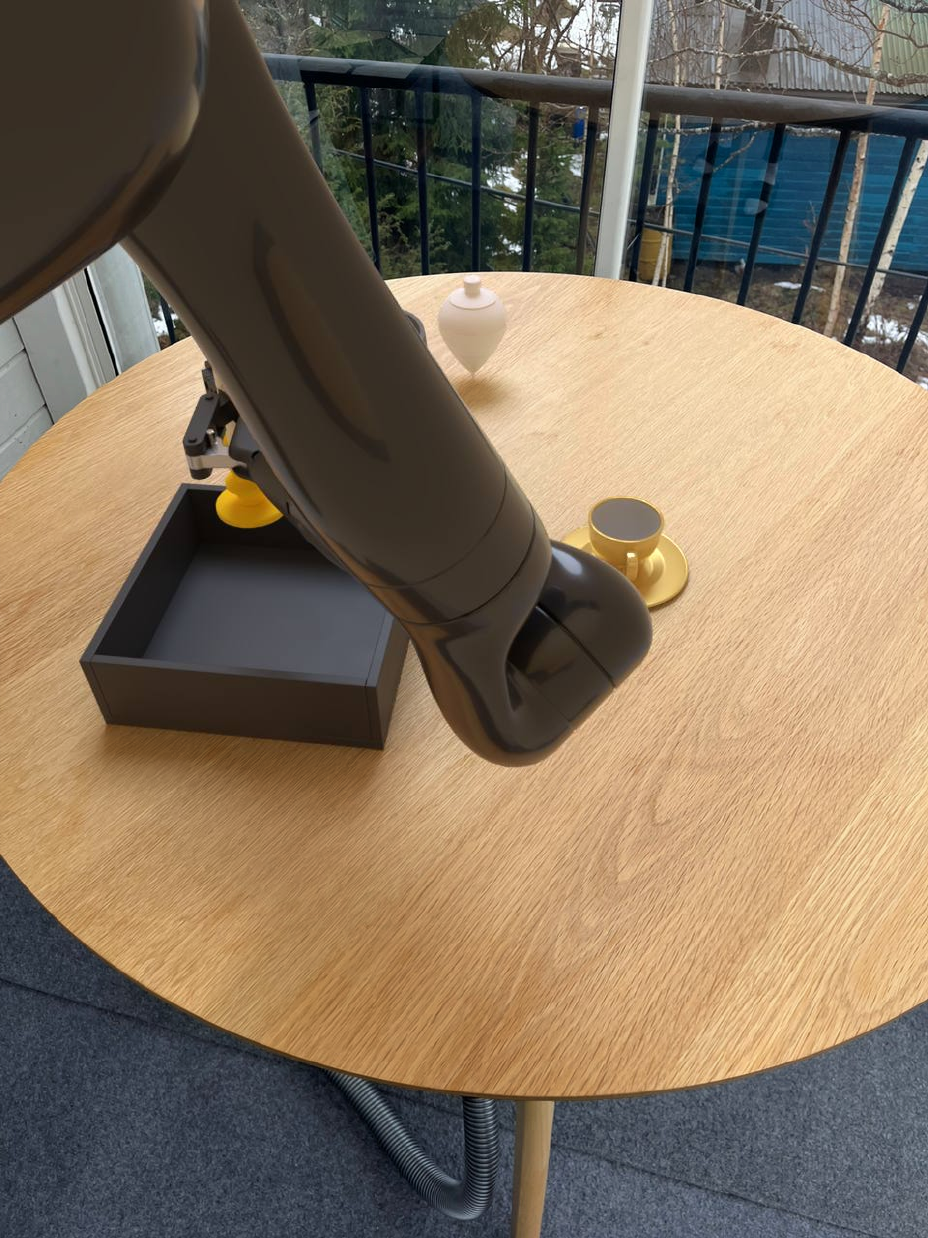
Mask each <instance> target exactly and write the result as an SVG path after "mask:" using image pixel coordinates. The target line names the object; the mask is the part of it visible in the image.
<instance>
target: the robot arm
mask: <svg viewBox="0 0 928 1238" xmlns="http://www.w3.org/2000/svg"><path fill="white" fill-rule="evenodd" d="M117 245H119V246H120V247H121V248H122V250H124V252H125V253H126V254H127V255H128V256H129V257H130V258H131V260H132V261H133V262H134V263H135V265H136V266H137V267H138V268H139V269H140V271H141V272H142V273H143V274H144V276H146V277H147V279H148V280H149V282H150V283H151V284H152V285H153V287H154V288H155V289H156V290H157V291H158V293H159V294H160V296H161V297H162V298H163V299H164V301H165V302H166V303H167V305H168V306H169V308H170V309H171V310H172V312H174V315H176V316H177V318H178V320H180V322H181V323H182V325H183V326H184V327H185V329H186V330H187V332H188V333H189V335H190V336H191V337H192V339H193V340H194V342H195V343H196V345H197V347H198V348H199V350H200V351H201V353H202V354H203V356H204V358H205V360H204V361H203V362H204V368H203V369H201V370H200V371H201V375H202V380H203V385H204V389H205V393H204V394H202V395H201V396H200V397H199V399H198V401H197V403H196V406H195V409H194V411H193V414H192V416H191V419H190V421H189V424H188V425H187V428H186V431H185V433H184V435H183V437H182V443H181V444H182V447H183V451H184V455H185V459H186V462H187V463H186V464H187V466H188V469H189V473H190V477H191V478H192V479H193V480H196V481H204V480H206V479H208V478H209V477H211V475H212V473H213V470H214V469H229V468H232V470H233V472H234V474H235V475H237V476H238V477H240V478H242V479H245V480H249V481H251V482H254V483H255V484H256V485H257V486H258V487H259V489H260V490H261V492H262V493H263V494H264V495H265V497H266V498H267V499H268V500H269V501H270V502H271V503H272V504H273V505H274V506H275V507H276V508H277V509H278V510H279V511H280V512H281V513H282V514H283V515H284V516H285V517H286V518H287V519H288V520H289V521H290V522H291V523H292V524H293V525H294V526H295V527H296V528H297V529H298V530H299V531H300V533H301V534H302V536H303V537H304V538H305V539H306V540H307V541H308V542H310V543H312V544H313V545H314V546H315V547H316V548H317V549H318V550H319V551H320V552H321V553H322V554H323V555H324V556H325V557H326V558H327V559H329V560H330V561H331V562H333V563H334V564H335V565H337V566H338V567H339V568H341V569H342V570H344V571H346V572H347V573H348V574H349V575H351V576H352V577H353V578H354V579H355V580H356V581H357V582H358V583H359V584H360V585H361V586H362V587H363V588H364V589H365V590H366V591H367V592H368V593H369V594H370V595H371V596H372V597H373V598H374V599H375V600H376V601H377V602H378V603H379V604H380V605H381V606H382V607H383V608H384V609H385V610H386V611H387V612H388V613H389V614H390V615H391V616H393V617H394V618H395V619H396V620H397V621H398V623H399V624H400V625H401V626H402V627H403V629H404V630H405V632H406V633H407V635H408V637H409V638H410V640H409V641H410V643H411V644H412V646H413V648H414V651H415V654H416V656H417V659H418V660H419V663H420V665H421V669H422V671H423V674H424V677H425V679H426V682H427V685H428V688H429V690H430V693H431V696H432V697H433V699H434V702H435V704H436V705H437V707H438V709H439V711H440V713H441V715H442V717H443V719H444V720H445V722H446V723H447V725H448V727H449V728H450V729H451V730H452V732H453V733H454V735H455V736H456V737H457V738H458V739H459V740H460V741H461V742H462V743H463V745H465V746H466V748H468V750H470V751H471V752H472V753H474V754H475V755H476V756H478V757H479V758H481V759H483V760H484V761H486V762H489V763H491V764H493V765H495V766H500V767H505V768H524V767H525V768H526V767H530V766H534V765H537V764H539V763H541V762H543V761H545V760H546V759H548V758H549V757H550V756H552V755H553V754H554V753H555V752H557V751H558V750H559V749H560V748H561V747H562V746H563V745H564V744H565V743H566V742H567V741H568V740H569V739H570V737H571V736H572V735H574V733H575V731H577V730H579V728H580V727H581V726H582V725H583V724H584V723H585V722H586V721H587V720H588V719H589V718H590V717H591V716H592V715H593V714H594V713H595V712H596V711H597V710H598V709H599V708H600V707H601V706H602V705H603V704H604V703H605V702H606V700H607V699H608V698H609V697H611V695H613V693H614V692H615V690H617V689H618V688H619V687H620V686H621V685H622V684H623V683H624V682H626V680H627V679H628V678H629V677H630V676H631V675H632V674H633V673H634V672H635V671H636V670H637V669H638V668H639V667H640V665H642V663H643V662H644V661H645V659H646V657H647V656H648V655H649V652H650V650H651V647H652V644H653V639H654V637H653V636H654V628H653V620H652V615H651V614H650V610H649V607H647V605H646V603H645V600H644V599H643V597H642V595H641V594H640V592H639V591H638V589H637V588H636V587H635V586H634V585H633V583H632V582H631V581H630V580H629V579H628V578H627V577H626V576H624V575H623V574H622V573H621V572H620V571H619V570H617V569H616V568H615V567H613V566H612V565H610V564H608V563H607V562H605V561H604V560H602V559H600V558H598V557H597V556H595V555H593V554H590V553H588V552H586V551H583V550H581V549H579V548H576V547H574V546H571V545H569V544H566V543H563V542H560V541H561V540H557V539H553V538H550V537H549V534H548V531H547V529H546V526H545V525H544V522H543V520H542V519H541V517H540V515H539V514H538V512H537V510H536V509H535V507H534V506H533V504H532V503H531V502H530V500H529V498H528V497H527V495H526V494H525V492H524V490H523V488H522V487H521V486H520V484H519V482H518V480H517V479H516V478H515V477H514V475H513V473H512V472H511V470H510V469H509V467H508V466H507V464H506V463H505V461H504V459H503V458H502V456H501V455H500V454H499V452H498V451H497V449H496V447H495V446H494V444H493V442H492V441H491V440H490V438H489V437H488V435H487V434H486V432H485V431H484V429H483V428H482V426H481V425H480V423H479V422H478V420H477V419H476V417H475V416H474V414H473V413H472V411H471V410H470V408H469V407H468V405H467V404H466V403H465V401H464V400H463V398H462V397H461V395H460V393H458V390H457V389H456V388H455V386H454V384H452V381H451V380H450V379H449V377H448V376H447V374H446V373H445V372H444V370H443V369H442V367H441V365H440V364H439V362H438V361H437V360H436V358H435V356H434V355H433V353H432V352H431V350H430V349H429V347H427V346H428V345H427V346H426V344H425V343H424V341H423V340H422V338H421V337H420V335H419V334H418V332H417V331H416V329H415V328H414V326H413V325H412V323H411V322H410V320H409V319H408V317H407V316H406V314H405V313H404V311H403V310H404V309H403V308H402V306H401V305H400V303H399V302H398V300H397V298H396V297H395V295H394V293H393V292H392V291H391V289H390V287H389V286H388V284H387V283H386V281H385V280H384V278H383V277H382V275H381V273H380V272H379V270H378V269H377V267H376V265H375V264H374V262H373V261H372V259H371V258H370V257H371V256H369V254H368V252H367V250H366V249H365V248H364V245H363V244H362V243H361V241H360V239H359V237H358V235H357V234H356V233H355V231H354V229H353V227H352V225H351V223H350V222H349V220H348V218H347V216H346V215H345V213H344V211H343V209H342V208H341V206H340V204H339V203H338V201H337V199H336V197H335V195H334V193H333V192H332V191H331V187H329V185H328V183H327V181H326V179H325V177H324V175H323V173H322V171H321V170H320V168H319V166H318V164H317V163H316V160H315V158H314V157H313V155H312V153H311V151H310V149H309V147H308V146H307V144H306V142H305V140H304V138H303V136H302V134H301V132H300V130H299V129H298V127H297V125H296V122H295V120H294V118H293V117H292V114H291V113H290V111H289V108H288V106H287V104H286V103H285V101H284V99H283V96H282V95H281V93H280V90H279V89H278V87H277V85H276V83H275V80H274V78H273V77H272V74H271V72H270V70H269V68H268V65H267V63H266V61H265V59H264V56H263V54H262V53H261V50H260V48H259V45H258V44H257V42H256V39H255V37H254V34H253V32H252V31H251V28H250V26H249V24H248V21H247V19H246V17H245V14H244V13H243V10H242V8H241V6H240V4H239V1H238V0H0V326H2V325H4V324H5V323H6V322H8V321H10V320H11V319H13V318H14V317H16V316H17V315H20V313H22V312H23V311H25V310H27V309H28V308H30V307H31V306H32V305H34V304H36V303H37V302H38V301H40V300H41V299H43V298H44V297H46V296H47V295H49V294H50V293H51V292H53V291H55V290H56V289H57V288H59V287H61V286H62V285H63V284H65V283H66V282H68V281H69V280H70V279H72V278H73V277H75V276H76V275H78V274H80V273H81V272H83V270H85V269H86V268H88V267H90V265H92V264H93V263H95V262H96V261H97V260H99V259H100V258H101V257H103V256H104V255H105V254H107V253H108V252H109V251H111V250H112V249H114V247H116V246H117ZM212 369H213V370H214V372H215V374H216V375H217V377H218V378H219V380H220V382H221V383H222V384H221V388H222V390H220V389H218V392H217V387H216V384H215V380H214V375H213V370H212ZM217 393H218V394H217ZM230 422H231V423H232V425H233V426H234V427H235V428H234V431H233V434H232V438H231V441H230V445H229V447H228V446H225V445H223V439H224V436H225V433H226V425H227V424H228V423H230Z"/></svg>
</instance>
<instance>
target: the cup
mask: <svg viewBox="0 0 928 1238" xmlns="http://www.w3.org/2000/svg"><path fill="white" fill-rule="evenodd" d="M587 522H588V523H587V524H586V525H583V526H580V527H578V528H577V529H574V530H573V531H571V532H569V533H568V534H566V535H565V536H564V537H563V538H562V539H561V540H559V541H560V542H563V543H566V544H569V545H571V546H574V547H576V548H579V549H581V550H583V551H586V552H588V553H590V554H593V555H595V556H597V557H598V558H600V559H602V560H604V561H605V562H607V563H608V564H610V565H612V566H613V567H615V568H616V569H617V570H619V571H620V572H621V573H622V574H623V575H624V576H626V577H627V578H628V579H629V580H630V581H631V582H632V583H633V585H634V586H635V587H636V588H637V589H638V591H639V592H640V594H641V595H642V597H643V599H644V600H645V603H646V605H647V607H648V608H652V607H655V606H659V605H661V604H663V603H665V602H668V601H669V600H671V599H672V598H674V597H675V596H677V595H678V594H679V593H680V592H681V591H682V589H683V588H685V585H686V583H687V582H688V578H689V573H690V567H689V563H688V559H687V556H686V554H685V553H684V550H682V549H681V547H680V546H679V545H678V544H677V543H676V542H675V541H674V540H672V539H671V538H670V537H669V536H667V535H665V534H664V533H663V531H664V527H665V517H664V515H663V513H662V511H661V510H660V509H659V508H658V507H657V506H656V505H654V504H653V503H652V502H650V501H647V500H646V499H643V498H640V497H636V496H630V495H615V496H614V495H613V496H610V497H609V496H608V497H605V498H603V499H601V500H599V501H597V502H596V503H594V504H593V505H592V506H591V508H590V510H589V512H588V515H587Z"/></svg>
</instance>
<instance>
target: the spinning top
mask: <svg viewBox="0 0 928 1238" xmlns="http://www.w3.org/2000/svg"><path fill="white" fill-rule="evenodd" d="M462 282H463V287H461V288H457V289H455V290H453V291H452V292H450V294H449V295H448V297H446V298H445V300H444V301H443V302H442V304H441V306H440V308H439V310H438V314H437V327H438V331H439V334H440V336H441V338H442V340H443V342H444V344H445V346H446V347H447V349H448V351H450V353H451V354H452V355H453V357H455V358H454V359H456V360H457V362H458V363H459V364H460V365H461V366H462V367H463V368H464V369H465V370H466V371H467V372H469V374H470V375H471V376H470V379H471V380H472V381H474V380H475V378H476V377H475V373H477V372H479V371H480V370H481V369H482V367H483V366H484V365H485V364H486V363H487V362H488V361H489V359H490V358H491V357H492V356H493V354H494V353H495V351H496V350H498V347H499V346H500V344H501V342H502V340H503V339H504V336H505V334H506V332H507V328H508V322H509V321H508V319H509V318H508V313H507V309H506V307H505V305H504V304H503V302H502V301H501V300H500V298H499V297H498V296H497V295H496V293H495V292H494V291H492V290H490V289H488V288H484V287H482V278H481V277H480V276H478V275H467V276H465V277H464V278H463V279H462Z"/></svg>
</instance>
